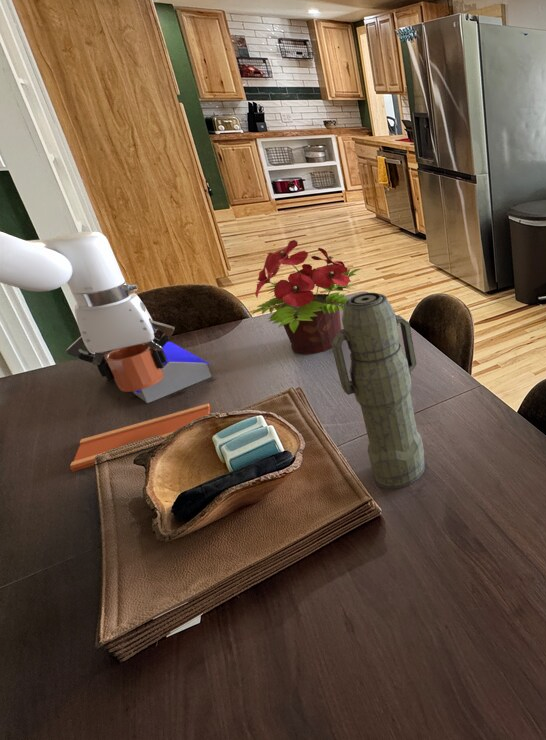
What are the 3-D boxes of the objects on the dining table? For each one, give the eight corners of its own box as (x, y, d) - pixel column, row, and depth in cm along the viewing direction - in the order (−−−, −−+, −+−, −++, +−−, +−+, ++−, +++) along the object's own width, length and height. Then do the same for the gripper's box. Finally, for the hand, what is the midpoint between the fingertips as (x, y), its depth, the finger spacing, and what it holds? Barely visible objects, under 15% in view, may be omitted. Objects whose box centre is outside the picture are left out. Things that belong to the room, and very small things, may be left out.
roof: (105, 377, 115) (93, 350, 112) (175, 352, 126) (165, 327, 123) (143, 405, 105) (130, 377, 102) (215, 375, 116) (205, 349, 113)
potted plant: (274, 331, 137) (244, 231, 126) (375, 315, 147) (356, 222, 136) (250, 385, 112) (210, 266, 101) (374, 362, 122) (351, 252, 111)
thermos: (442, 463, 89) (415, 293, 76) (383, 503, 80) (341, 319, 67) (415, 443, 94) (385, 280, 80) (357, 478, 85) (312, 303, 72)
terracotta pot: (116, 396, 96) (101, 364, 93) (122, 379, 102) (107, 349, 99) (162, 384, 100) (149, 353, 97) (165, 369, 105) (153, 339, 103)
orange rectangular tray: (71, 472, 87) (69, 467, 86) (84, 442, 94) (81, 437, 94) (209, 430, 97) (207, 425, 97) (210, 406, 105) (208, 402, 104)
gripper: (162, 279, 100) (190, 351, 107) (44, 299, 91) (83, 377, 98) (159, 291, 95) (189, 366, 102) (32, 313, 85) (75, 394, 92)
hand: (137, 371), depth 100 cm, fingers closed on terracotta pot, 7 cm apart
